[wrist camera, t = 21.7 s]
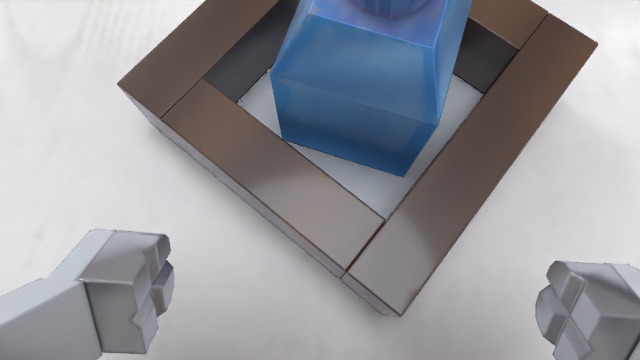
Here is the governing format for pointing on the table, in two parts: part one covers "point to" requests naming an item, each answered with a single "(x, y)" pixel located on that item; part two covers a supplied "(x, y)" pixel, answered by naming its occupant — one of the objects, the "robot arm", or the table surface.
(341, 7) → the perfume bottle
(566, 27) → the stand
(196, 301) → the table surface
